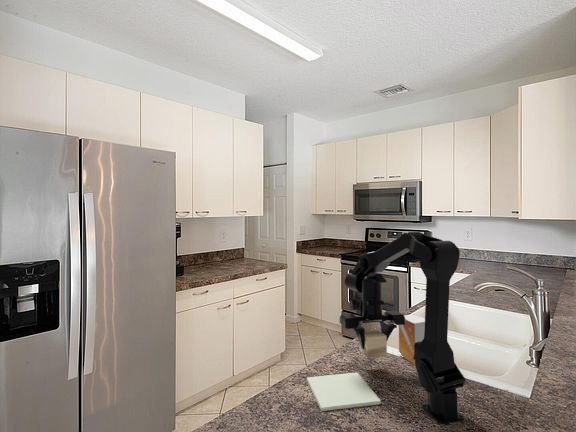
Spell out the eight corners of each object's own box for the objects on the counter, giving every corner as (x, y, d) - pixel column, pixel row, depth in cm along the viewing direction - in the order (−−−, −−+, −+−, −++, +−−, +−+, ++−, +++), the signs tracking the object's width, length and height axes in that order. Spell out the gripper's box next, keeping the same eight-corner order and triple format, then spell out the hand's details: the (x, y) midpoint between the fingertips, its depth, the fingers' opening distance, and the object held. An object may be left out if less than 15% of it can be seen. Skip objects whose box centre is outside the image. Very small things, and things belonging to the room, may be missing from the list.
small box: (398, 355, 108) (397, 315, 108) (414, 352, 109) (414, 313, 110) (415, 365, 100) (414, 323, 100) (432, 362, 102) (431, 320, 102)
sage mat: (380, 404, 80) (380, 400, 80) (321, 411, 77) (321, 407, 77) (357, 375, 94) (357, 372, 94) (306, 380, 92) (306, 377, 92)
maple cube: (386, 356, 96) (386, 335, 96) (367, 358, 95) (367, 337, 95) (377, 348, 102) (377, 329, 102) (359, 350, 100) (359, 330, 101)
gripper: (388, 288, 108) (388, 336, 108) (333, 291, 105) (334, 340, 104) (405, 296, 97) (406, 349, 97) (345, 300, 94) (346, 354, 93)
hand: (372, 347), depth 98 cm, fingers closed on maple cube, 6 cm apart
